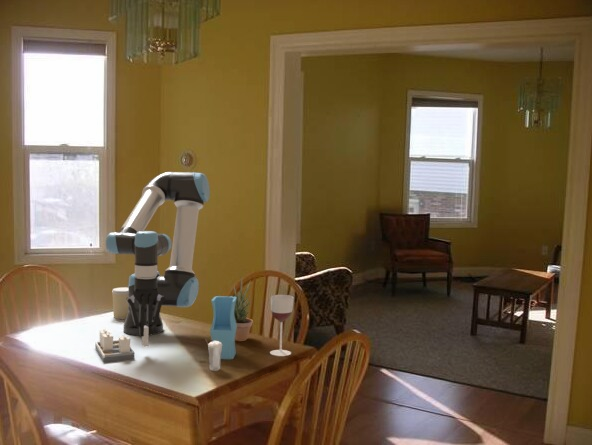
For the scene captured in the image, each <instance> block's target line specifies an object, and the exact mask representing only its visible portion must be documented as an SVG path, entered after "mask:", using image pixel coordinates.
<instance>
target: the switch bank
mask: <svg viewBox="0 0 592 445" xmlns="http://www.w3.org/2000/svg"><path fill="white" fill-rule="evenodd" d="M94 347H95V350H96V352H97V354H98V355H99V357H100V359H101V361H102V363H110V362H120V361H121V362H122V361H131V360H135V351H134V350H133V348H132V347H131V346H130V352H124V353H120V352H119V339H118V340H113V349H109V350H103V349H102V346H101V345H100V341H95V346H94Z"/></svg>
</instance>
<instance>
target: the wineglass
mask: <svg viewBox="0 0 592 445" xmlns="http://www.w3.org/2000/svg"><path fill="white" fill-rule="evenodd" d="M294 299H295V298H294V296H292V295H289V294H274V295H271V296H270V309H271V310H270V311H271V314H272V317H273V318H274V319H276V320H277V321H279V322H280V325H279V326H280V327H279V349H274V350H271V351H270V352H269V353H270V355H272V356H275V357H285V356H287V357H288V356H289V355H292V351H289V350H286V349H283V345H282V344H283V322H284V321H286V320H288V319H289V318H290V317H291V316H292V312H293V308H294Z"/></svg>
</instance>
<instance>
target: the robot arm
mask: <svg viewBox="0 0 592 445" xmlns="http://www.w3.org/2000/svg"><path fill="white" fill-rule="evenodd" d="M210 189H211V188H210V182H209V180H208V177H207V175H206V174H204V173H202V172H196V171H191V172H186V171H185V172H184V171H183V172H182V171H166V172H163V173H160V174H158V175H157V176H155V177H153V178H152V179H150V181H148V182H147V184H145V185H144V187H143V189H142V192H141V197H140V199H139V200H138V201H137V203H136V204H135V206H134V208H133V209H132V210H131V212H130V214H129V215H128V217H127V218H126V220H125V221H124V223H123V225H122V226H121V228H120V229H119V231H118V232H116V231H114V232H109V233H108V234H107V235H106V239H105V247H106V250H107V252H108V253H111V254H117V255H134V273H132V274H131V275H129V277H128V285H127V287H128V298H126V300H127V302H128V306H129V307H128V314H127V317H126V319H124V324H123V332H124V333H125V334H128V335H134V336H140V337H141V344H142V346H143V347H149V337H151V336H152V335H156V334H160V333H162V332H163V331H164V322H163V320H162V316H161V314H160V313H161V309H162V306H163V307H177V308H189V307H191V306H192V305H193V304H194V303H195V301H196V299H197V297H198V293H199V287H200V286H199V284H200V283H199V279H198V278H197V277H196V273H195V272H194V270H193V261H194V254H195V253H194V252H195V245H196V236H197V230H198V229H197V228H198V221H199V220H198V219H199V212H200V210H201V209H203V208H204V204H205V203H207V202H208V201H209V199H210V196H211V193H210V191H211V190H210ZM167 201H173V205H175V207H176V215H175V221H174V222H175V224H174V231H173V238H172V240H171V238H170V236H168V235H167V234H166V233H158V232H156V231H153V230H152V231H151V230H145V229H146V228H147V227H148V225H149V223H150V221H151V220H152V218H153V216H154V215H155V213H156V211H157V210H158V208H159V207H160V206H162V205H163V204H164V203H165V202H167ZM170 250H171V254H170V260H169V261H170V262H169V266H168V268H166V269H165V270H164V275H161V274H160V271H158V258H159V257H161V256H164V255H166V254H167V253H169V251H170Z"/></svg>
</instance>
